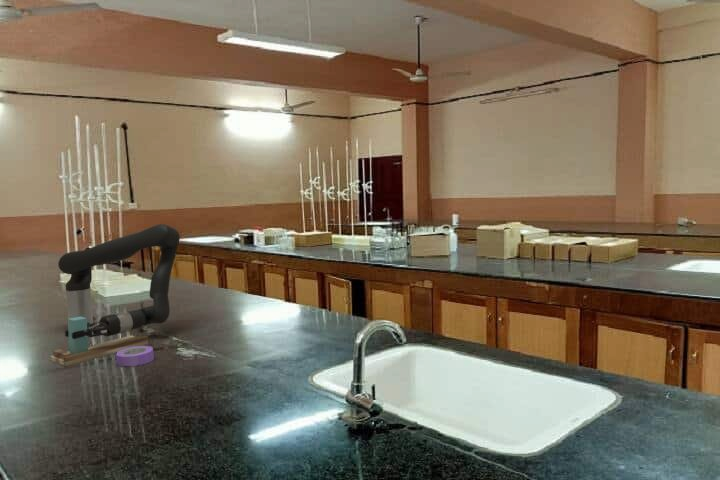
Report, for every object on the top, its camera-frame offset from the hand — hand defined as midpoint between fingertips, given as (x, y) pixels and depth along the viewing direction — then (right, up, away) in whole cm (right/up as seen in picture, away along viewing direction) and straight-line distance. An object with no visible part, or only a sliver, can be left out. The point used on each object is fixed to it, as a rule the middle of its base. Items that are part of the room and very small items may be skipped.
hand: (69, 334), depth 186 cm
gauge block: (+2, -7, +3) cm, 7 cm away
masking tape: (+24, -9, -2) cm, 26 cm away
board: (+7, -8, +9) cm, 14 cm away
